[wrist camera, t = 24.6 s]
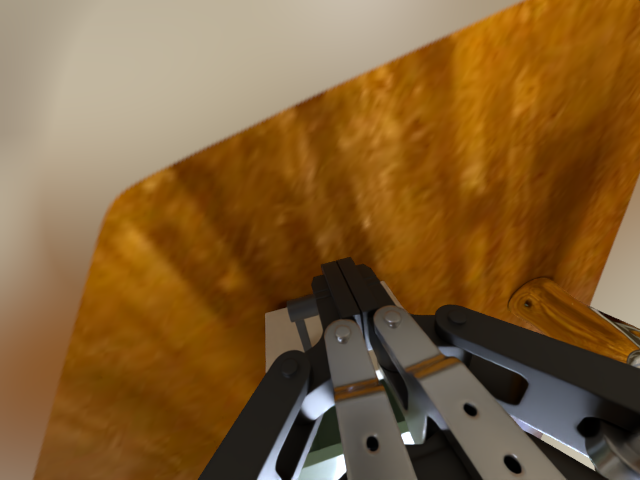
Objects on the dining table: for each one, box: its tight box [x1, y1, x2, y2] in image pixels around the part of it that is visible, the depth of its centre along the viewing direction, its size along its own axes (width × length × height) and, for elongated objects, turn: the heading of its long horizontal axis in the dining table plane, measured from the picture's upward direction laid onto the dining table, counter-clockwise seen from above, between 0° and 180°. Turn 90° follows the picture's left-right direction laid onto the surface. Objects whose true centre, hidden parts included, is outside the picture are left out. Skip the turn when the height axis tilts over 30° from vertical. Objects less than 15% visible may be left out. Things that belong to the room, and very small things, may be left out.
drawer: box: [265, 281, 405, 453], centre depth 21 cm, size 20×11×8 cm, turn 10°
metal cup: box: [508, 277, 640, 368], centre depth 24 cm, size 7×7×15 cm
